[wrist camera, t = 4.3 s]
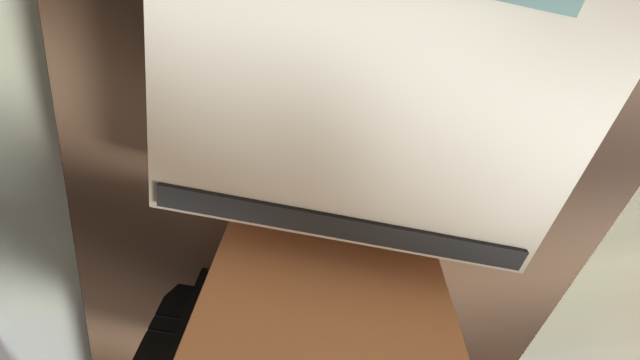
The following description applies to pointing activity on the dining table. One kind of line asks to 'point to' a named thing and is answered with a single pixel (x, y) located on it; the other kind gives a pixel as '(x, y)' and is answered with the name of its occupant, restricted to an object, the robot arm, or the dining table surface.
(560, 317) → the dining table surface
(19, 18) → the dining table surface
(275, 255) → the light orange cube
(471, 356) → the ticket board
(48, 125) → the dining table surface
